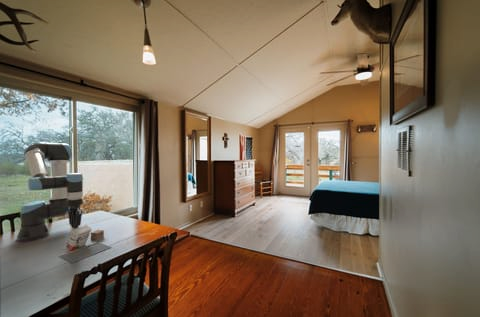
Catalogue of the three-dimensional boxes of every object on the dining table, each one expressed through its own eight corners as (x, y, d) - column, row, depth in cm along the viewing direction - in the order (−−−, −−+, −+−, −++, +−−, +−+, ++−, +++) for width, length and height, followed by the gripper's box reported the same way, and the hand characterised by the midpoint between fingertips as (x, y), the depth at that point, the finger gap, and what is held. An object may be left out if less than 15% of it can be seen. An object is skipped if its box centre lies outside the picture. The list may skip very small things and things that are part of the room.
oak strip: (61, 255, 111) (61, 254, 111) (96, 243, 127) (96, 242, 127) (62, 256, 110) (62, 255, 110) (97, 243, 126) (97, 242, 126)
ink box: (71, 251, 116) (78, 234, 115) (65, 247, 117) (72, 229, 116) (86, 244, 125) (92, 228, 123) (80, 240, 125) (86, 224, 124)
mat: (59, 256, 110) (59, 256, 110) (98, 242, 128) (98, 242, 128) (71, 263, 103) (71, 262, 103) (111, 247, 121) (111, 247, 121)
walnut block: (90, 239, 131) (90, 232, 131) (97, 236, 136) (97, 229, 136) (97, 240, 130) (97, 233, 130) (103, 237, 135) (103, 230, 135)
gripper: (62, 198, 120) (62, 236, 121) (72, 201, 114) (72, 241, 115) (76, 196, 127) (76, 232, 128) (87, 198, 121) (87, 236, 122)
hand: (74, 236), depth 121 cm, fingers closed
